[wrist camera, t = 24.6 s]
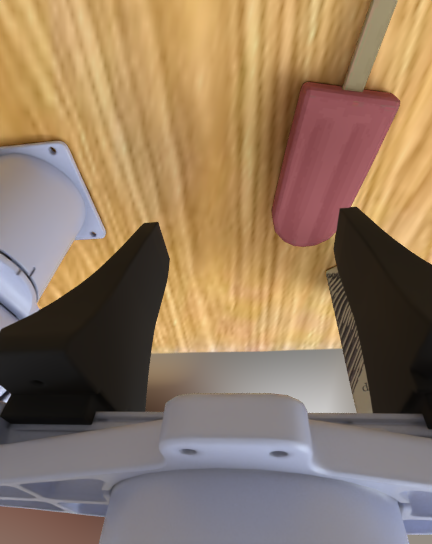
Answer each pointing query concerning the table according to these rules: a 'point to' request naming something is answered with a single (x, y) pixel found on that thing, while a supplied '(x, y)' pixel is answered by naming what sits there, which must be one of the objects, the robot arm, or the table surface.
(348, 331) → the box
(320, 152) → the popsicle
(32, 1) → the table surface
